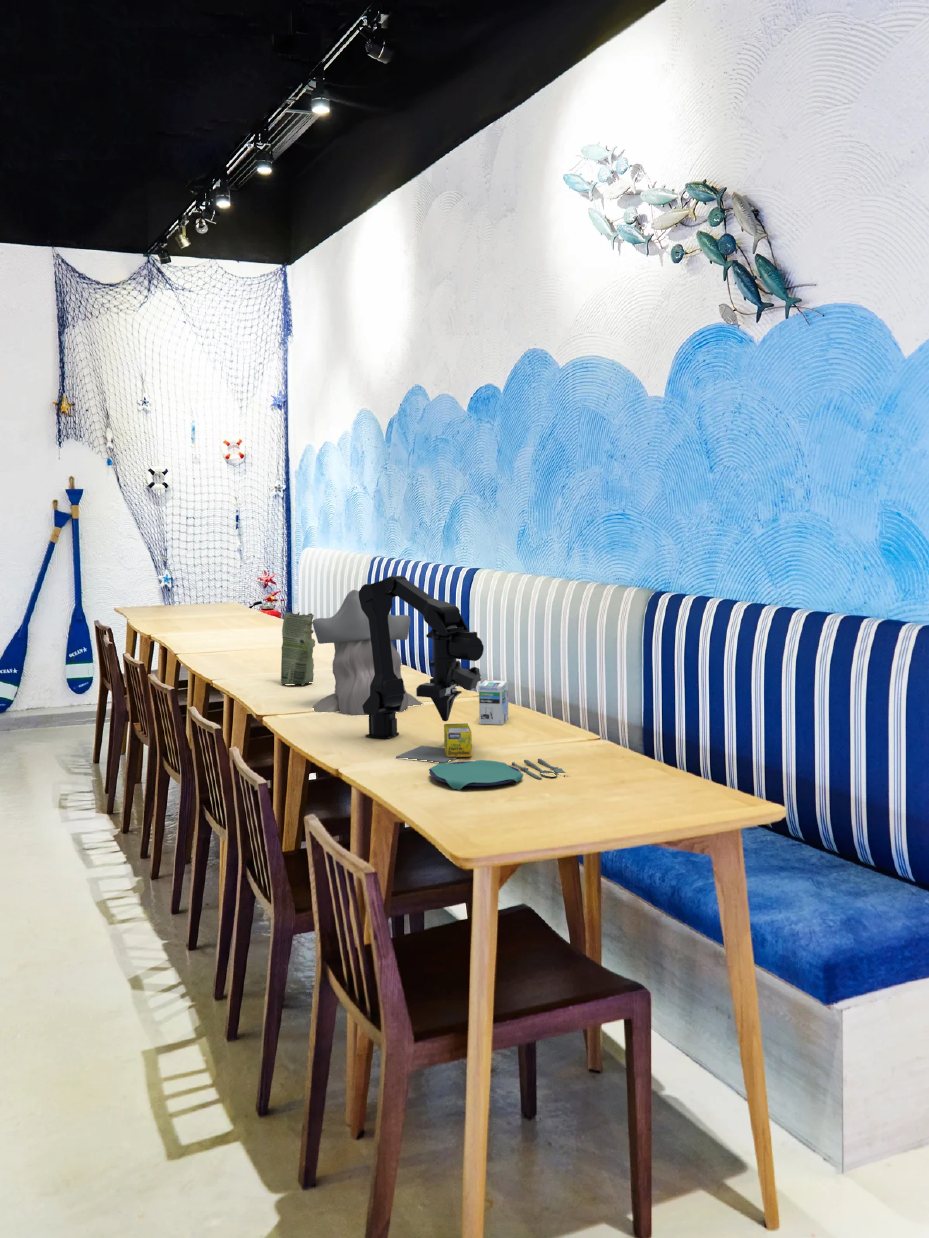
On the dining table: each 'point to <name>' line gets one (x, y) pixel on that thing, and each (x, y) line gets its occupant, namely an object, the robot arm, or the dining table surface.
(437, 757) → the mat
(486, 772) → the cutlery set
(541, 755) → the dining table surface
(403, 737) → the dining table surface
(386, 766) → the dining table surface
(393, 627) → the gray wizard statue
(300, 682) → the pouch
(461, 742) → the supplement box
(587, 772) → the dining table surface
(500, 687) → the light bulb box
